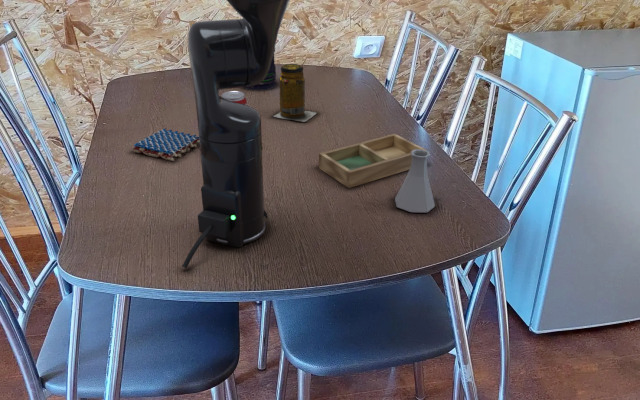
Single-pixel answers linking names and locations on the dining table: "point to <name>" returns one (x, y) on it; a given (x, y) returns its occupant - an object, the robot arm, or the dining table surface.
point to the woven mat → (166, 144)
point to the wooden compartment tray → (368, 160)
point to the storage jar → (266, 79)
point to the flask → (416, 185)
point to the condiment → (293, 94)
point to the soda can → (235, 97)
